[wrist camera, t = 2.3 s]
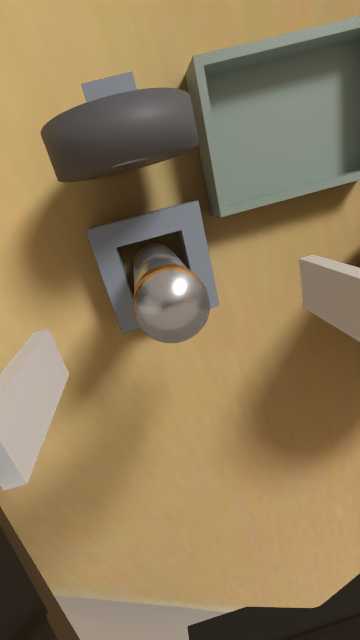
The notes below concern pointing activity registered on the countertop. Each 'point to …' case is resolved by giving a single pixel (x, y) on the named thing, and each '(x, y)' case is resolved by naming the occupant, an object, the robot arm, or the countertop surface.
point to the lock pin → (167, 295)
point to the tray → (278, 116)
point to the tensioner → (125, 155)
